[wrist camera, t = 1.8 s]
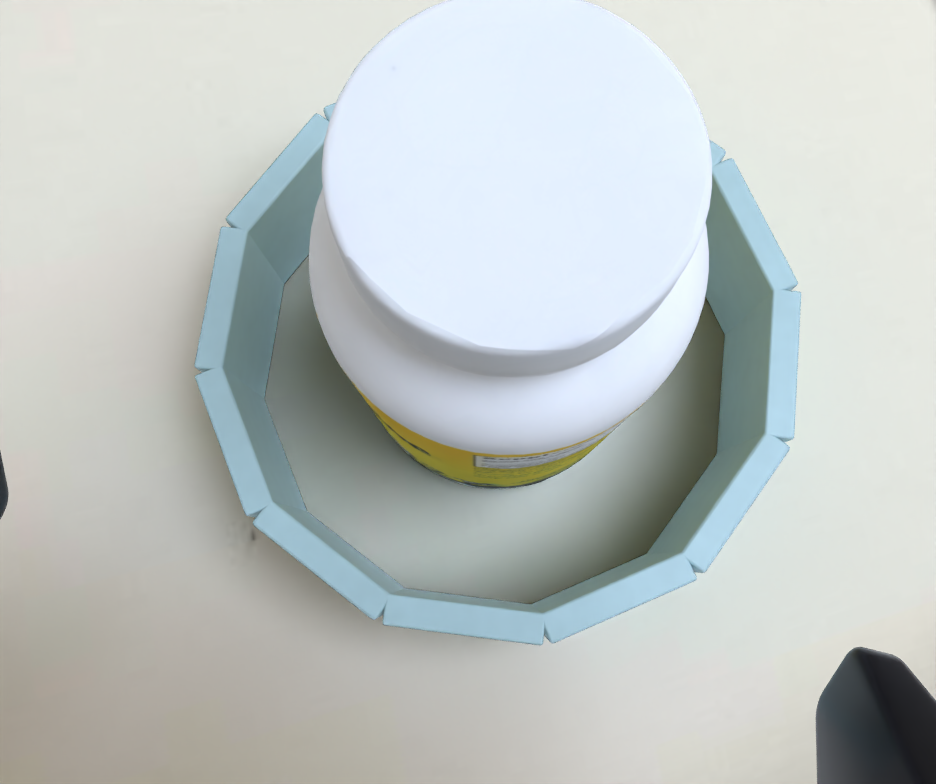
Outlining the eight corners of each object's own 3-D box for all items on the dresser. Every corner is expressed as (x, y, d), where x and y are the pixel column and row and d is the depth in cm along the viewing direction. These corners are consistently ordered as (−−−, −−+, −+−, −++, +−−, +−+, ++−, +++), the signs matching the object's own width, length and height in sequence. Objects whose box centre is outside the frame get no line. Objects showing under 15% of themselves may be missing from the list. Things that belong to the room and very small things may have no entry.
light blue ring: (729, 656, 19) (783, 677, 16) (205, 589, 20) (148, 594, 16) (759, 165, 22) (811, 91, 18) (291, 114, 22) (256, 32, 19)
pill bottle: (341, 285, 21) (200, -3, 10) (577, 219, 21) (679, -128, 11) (408, 525, 20) (326, 485, 9) (656, 452, 20) (861, 329, 9)
